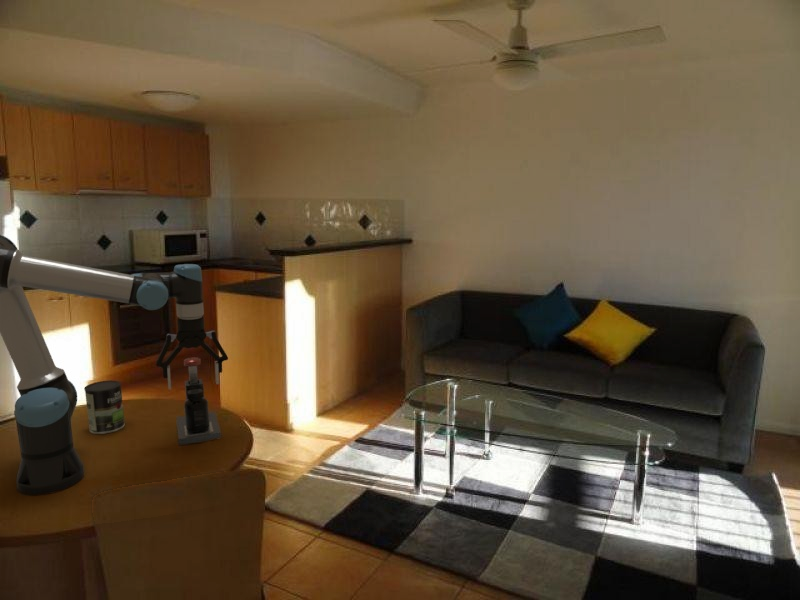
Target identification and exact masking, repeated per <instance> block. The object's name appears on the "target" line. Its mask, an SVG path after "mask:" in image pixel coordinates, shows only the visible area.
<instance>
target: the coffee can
mask: <svg viewBox="0 0 800 600" xmlns="http://www.w3.org/2000/svg"><path fill="white" fill-rule="evenodd" d="M84 392H85V394H84V395H85V402H86V411H87V418H88V419H87V420H88V428H89V429H88V431H89V433H90V434H95V435H106V434H110V433H114V432H118V431H121V430H122V429H123V428H124V427H125V425H126V423H125V416H124V415H125V413H124V405H123V394H122V393H123V392H122V382H121V381H118V380H112V379H111V380H102V381H101V380H100V381H97V382H92V383H89V384H87V385H86V386H85V387H84Z"/></svg>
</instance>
